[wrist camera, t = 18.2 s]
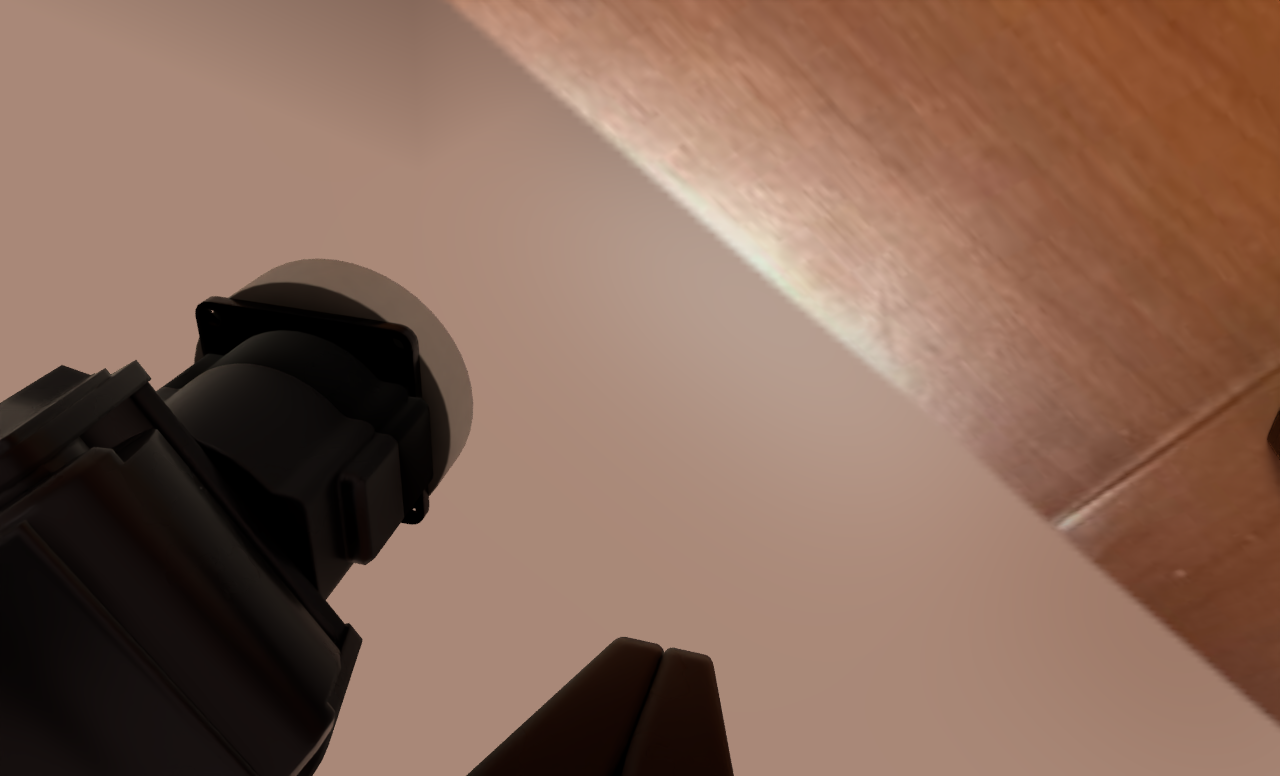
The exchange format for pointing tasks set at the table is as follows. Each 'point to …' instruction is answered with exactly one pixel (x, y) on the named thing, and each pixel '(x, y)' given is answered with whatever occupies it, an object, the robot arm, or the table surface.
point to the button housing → (1275, 436)
